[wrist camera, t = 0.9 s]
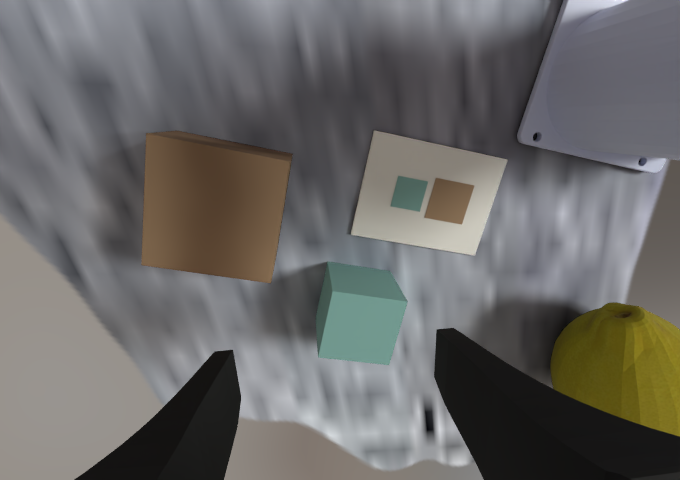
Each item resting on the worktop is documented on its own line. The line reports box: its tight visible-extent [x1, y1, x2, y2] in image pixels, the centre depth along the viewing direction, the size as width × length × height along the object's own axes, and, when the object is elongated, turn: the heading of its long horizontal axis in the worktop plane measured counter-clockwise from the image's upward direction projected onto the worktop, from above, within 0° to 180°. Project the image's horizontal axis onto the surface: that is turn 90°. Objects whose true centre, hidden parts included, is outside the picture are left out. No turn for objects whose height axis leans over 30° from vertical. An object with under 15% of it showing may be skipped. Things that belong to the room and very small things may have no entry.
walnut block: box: [142, 131, 293, 283], centre depth 18 cm, size 6×6×4 cm
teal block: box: [316, 262, 408, 365], centre depth 20 cm, size 4×4×4 cm
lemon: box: [550, 303, 680, 436], centre depth 21 cm, size 11×8×8 cm
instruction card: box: [351, 130, 508, 256], centre depth 20 cm, size 8×6×1 cm
